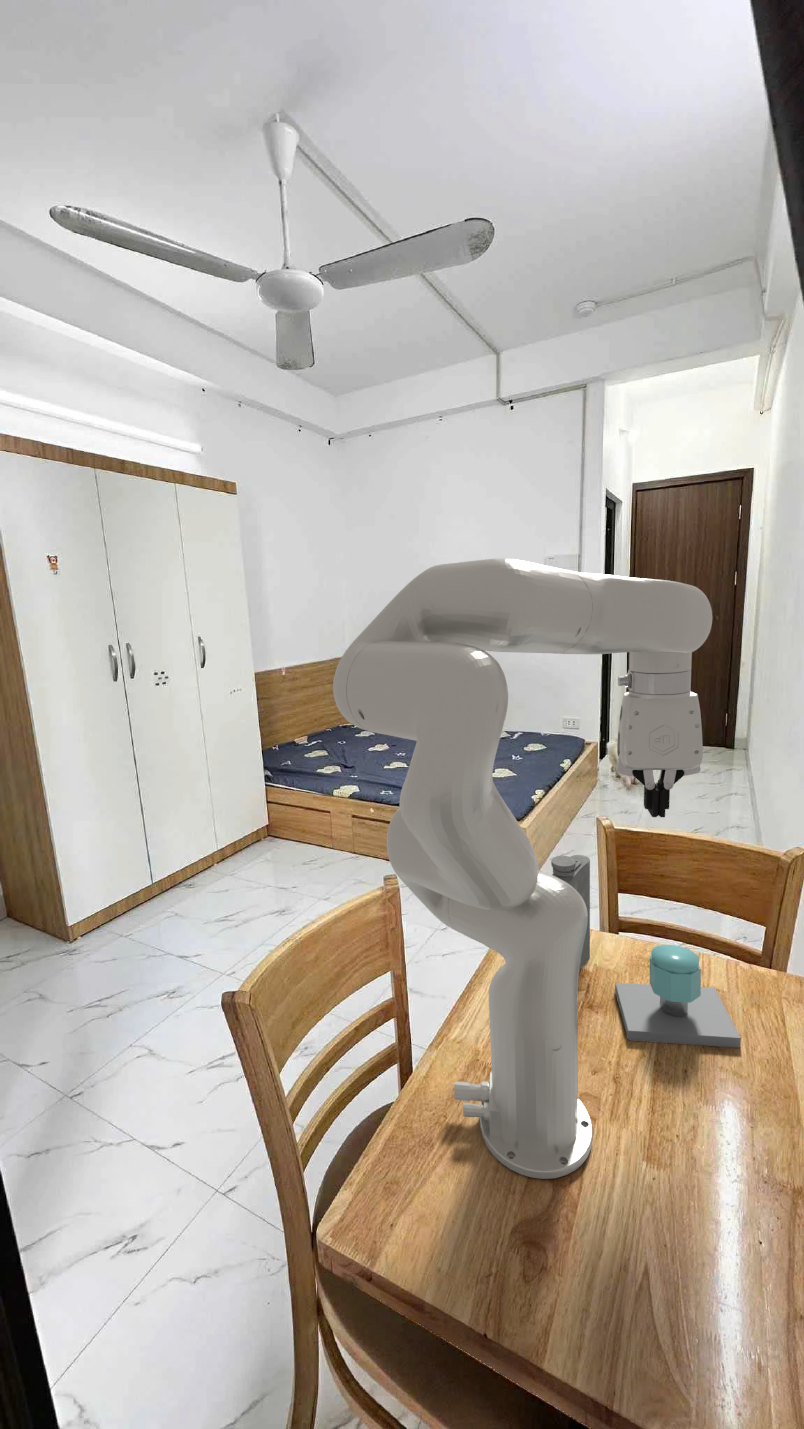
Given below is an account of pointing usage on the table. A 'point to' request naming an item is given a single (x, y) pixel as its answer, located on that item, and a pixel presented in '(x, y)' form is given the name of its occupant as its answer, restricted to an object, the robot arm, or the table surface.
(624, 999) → the stud base
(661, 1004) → the steel stud
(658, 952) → the cap
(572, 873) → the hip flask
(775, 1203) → the table surface
